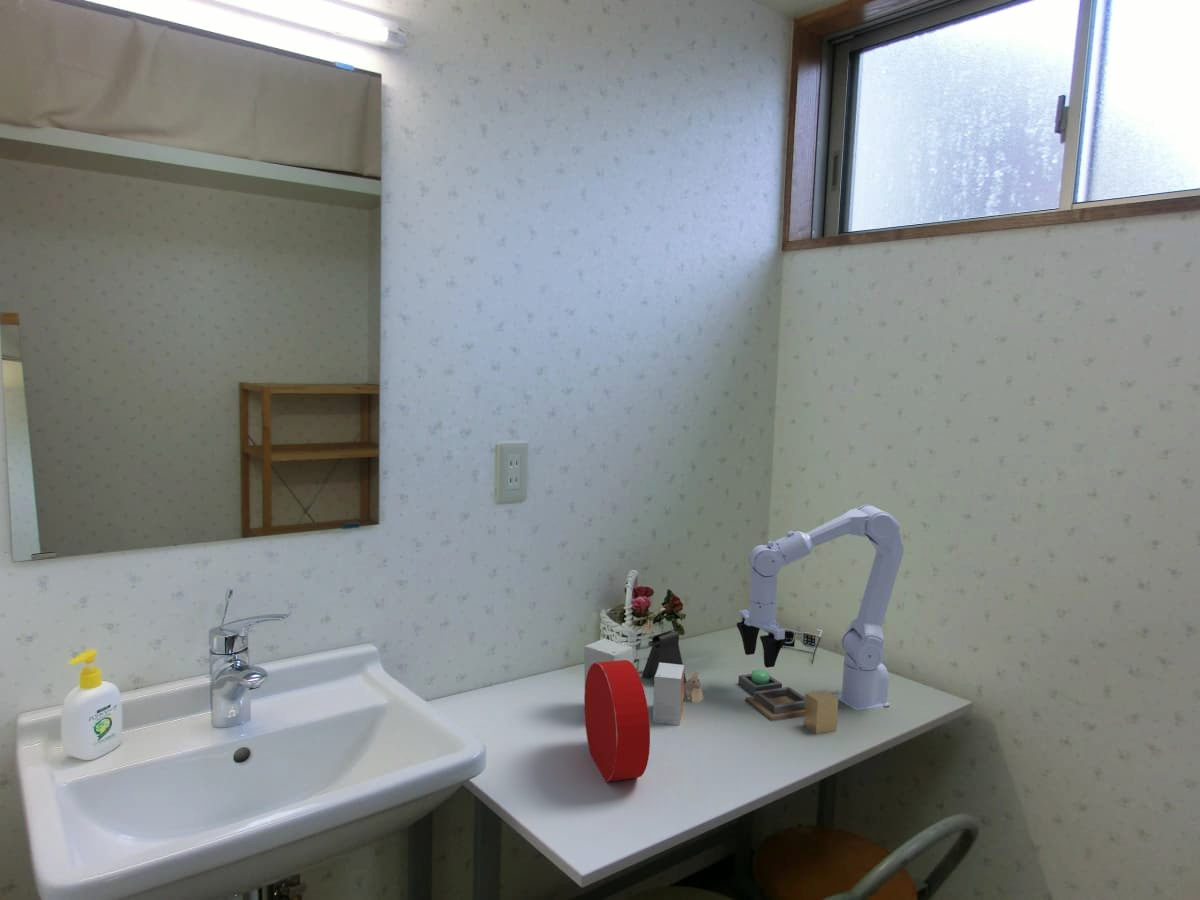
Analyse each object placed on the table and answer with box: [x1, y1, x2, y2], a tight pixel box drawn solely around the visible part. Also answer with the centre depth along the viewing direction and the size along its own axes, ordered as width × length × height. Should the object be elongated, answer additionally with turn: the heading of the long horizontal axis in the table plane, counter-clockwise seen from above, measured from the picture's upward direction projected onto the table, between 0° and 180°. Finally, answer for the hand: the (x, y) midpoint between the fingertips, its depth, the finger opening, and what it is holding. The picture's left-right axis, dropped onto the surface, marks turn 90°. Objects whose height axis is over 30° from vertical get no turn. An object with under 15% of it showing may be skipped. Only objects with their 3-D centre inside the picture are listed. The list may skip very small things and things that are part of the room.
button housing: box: [737, 673, 783, 696], centre depth 176 cm, size 7×7×2 cm
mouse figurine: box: [683, 670, 705, 703], centre depth 170 cm, size 5×8×7 cm, turn 38°
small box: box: [652, 663, 685, 726], centre depth 159 cm, size 8×6×10 cm
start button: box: [751, 669, 770, 685], centre depth 176 cm, size 4×4×2 cm
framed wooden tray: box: [744, 686, 806, 722], centre depth 167 cm, size 12×10×2 cm
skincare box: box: [583, 638, 633, 684], centre depth 158 cm, size 8×7×16 cm
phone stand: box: [641, 629, 687, 683], centre depth 177 cm, size 9×6×12 cm, turn 43°
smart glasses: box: [781, 627, 823, 665], centre depth 200 cm, size 12×14×5 cm
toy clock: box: [583, 660, 651, 783], centre depth 137 cm, size 20×6×20 cm, turn 17°
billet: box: [803, 689, 839, 735], centre depth 157 cm, size 5×4×7 cm
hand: (759, 660), depth 171 cm, fingers open, 7 cm apart
